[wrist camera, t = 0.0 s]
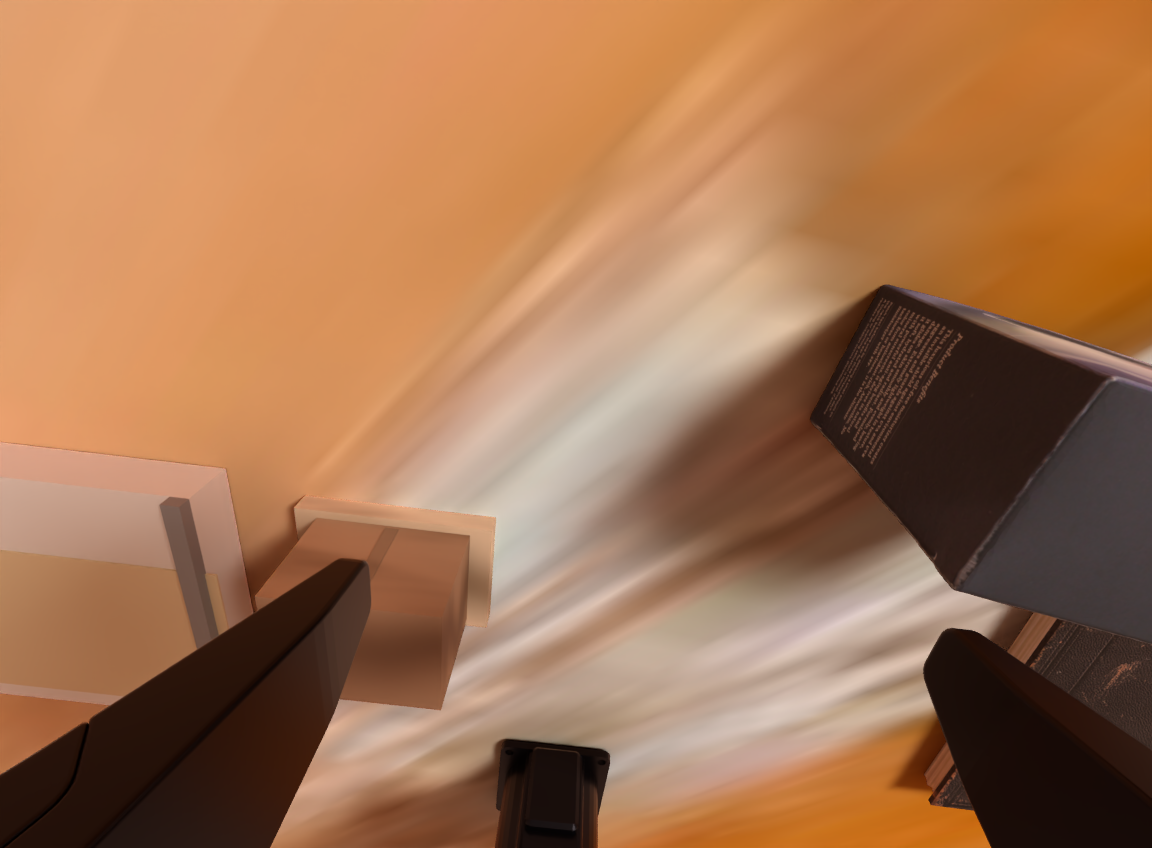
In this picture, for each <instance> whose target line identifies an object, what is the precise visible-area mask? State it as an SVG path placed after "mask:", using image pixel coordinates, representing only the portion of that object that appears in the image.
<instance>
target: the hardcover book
mask: <svg viewBox="0 0 1152 848" xmlns="http://www.w3.org/2000/svg"><path fill="white" fill-rule="evenodd" d="M1007 652H1008V653H1009V654H1011V655H1012V656H1014V657H1015V658H1017V659H1018V660H1020V661H1021V662H1023V663H1024V664H1026V665H1027V666H1029V667H1030V668H1032V669H1033V670H1035V671H1036V672H1038V673H1039V674H1040V675H1042V676H1043V677H1045V678H1046V679H1048V680H1049V681H1051V682H1052V683H1054V684H1055V685H1057V686H1058V687H1060V688H1061V689H1063V690H1064V691H1066V692H1067V693H1069V694H1070V695H1072V696H1073V697H1074V698H1076V699H1077V700H1079V701H1080V702H1082V703H1083V704H1085V705H1086V706H1088V707H1089V708H1091V709H1092V710H1094V711H1095V712H1097V713H1098V714H1100V715H1101V716H1103V717H1104V718H1106V719H1107V720H1109V721H1110V722H1111V723H1113V724H1114V725H1116V726H1117V727H1119V728H1120V729H1122V730H1123V731H1125V732H1126V733H1128V734H1129V735H1131V736H1132V737H1134V738H1135V739H1137V740H1138V741H1140V742H1141V743H1143V744H1144V745H1145V746H1147V747H1148V748H1150V749H1151V750H1152V644H1148V643H1144V642H1141V641H1137V640H1134V639H1130V638H1127V637H1123V636H1119V635H1115V634H1111V633H1108V632H1105V631H1101V630H1097V629H1093V628H1090V627H1086V626H1082V625H1079V624H1075V623H1072V622H1068V621H1064V620H1060V619H1057V618H1053V617H1050V616H1047V615H1043V614H1039V613H1036V612H1034V613H1033V614H1032V616H1031V617H1030V619H1029V620H1028V622H1027V623H1026V625H1025V626H1024V628H1023V629H1022V631H1021V632H1020V634H1019V635H1018V637H1017V638H1016V640H1015V641H1014V643H1013V644H1012V645H1011V647H1010V648H1009V650H1008V651H1007ZM924 775H925V776H926V780H927V785H928V786H930V787H932V788H933V794H932V795H931V797H930V798H929V799H928V800H929V802H930V804H931V805H935V806H943V807H951V808H958V809H966V810H974V809H973V807H972V805H971V803H970V801H969V798H968V796H967V794H966V791H965V789H964V787H963V784H962V782H961V780H960V777H959V774H958V772H957V769H956V767H955V764H954V761H953V758H952V756H951V753H950V750H949V747H948V744H947V742H946V743H945V744H944V746H943V747H942V749H941V750H940V752H939V753H938V755H937V756H936V757H935V759H934V760H933V762H932V763H931V765H930V766H929V768H928V769H927V771H926V772H925V774H924Z"/></svg>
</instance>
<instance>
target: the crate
mask: <svg viewBox="0 0 1152 848" xmlns="http://www.w3.org/2000/svg"><path fill="white" fill-rule="evenodd" d="M294 513H295V521H296V528H297V536H298V542H297V543H296V545H295V546H294V547H293V548H292V550H291V551H290V552H289V553H288V555H287V556H286V557H285V559H284V560H283V561H282V562H281V564H280V565H279V566H278V567H277V569H276V570H275V571H274V572H273V574H272V575H271V576H270V578H269V579H268V580H267V581H266V583H265V584H264V585H263V586H262V588H261V589H260V590H259V591H258V593H257V594H256V595H255V601H256V607H257V610H259V609H260V608H262V607H264V606H265V605H267V604H268V603H270V602H271V601H273V600H274V599H276V598H278V597H279V596H281V595H282V594H284V593H285V592H287V591H288V590H290V589H292V588H293V587H295V586H296V585H298V584H299V583H301V582H302V581H304V580H306V579H307V578H309V577H310V576H312V575H313V574H315V573H316V572H318V571H320V570H321V569H323V568H324V567H326V566H327V565H329V564H330V563H332V562H333V561H335V560H337V559H339V558H352V559H361V560H365V561H366V562H367V563H368V565H369V569H370V585H371V609H370V613H369V617H368V620H367V623H366V625H365V628H364V631H363V634H362V637H361V640H360V642H359V645H358V648H357V651H356V654H355V656H354V659H353V662H352V665H351V668H350V670H349V673H348V676H347V679H346V682H345V685H344V687H343V690H342V693H341V696H340V698H339V699H344V700H353V701H362V702H371V703H380V704H389V705H399V706H408V707H417V708H426V709H435V710H441V708H442V704H443V701H444V697H445V694H446V690H447V687H448V683H449V680H450V676H451V673H452V669H453V666H454V662H455V659H456V655H457V652H458V648H459V645H460V641H461V638H462V634H463V631H464V627H465V625H468V626H476V627H485V628H486V627H487V622H488V618H489V614H490V604H491V588H492V573H493V557H494V541H495V526H496V518H495V517H487V516H478V515H470V514H461V513H453V512H444V511H436V510H427V509H419V508H410V507H402V506H393V505H385V504H376V503H368V502H359V501H351V500H342V499H334V498H325V497H317V496H308V495H305V496H304V497H303V498H302V499H301V500H300V501H299V503H298V504H297V505H296V506H295V507H294Z"/></svg>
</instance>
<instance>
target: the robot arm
mask: <svg viewBox="0 0 1152 848" xmlns="http://www.w3.org/2000/svg"><path fill="white" fill-rule="evenodd" d="M370 609H371V585H370V569H369V565H368V563H367V562H366V561H365V560H361V559H352V558H339V559H337V560H335V561H333V562H332V563H330V564H329V565H327V566H326V567H324V568H323V569H321V570H320V571H318V572H316V573H315V574H313V575H312V576H310V577H309V578H307V579H306V580H304V581H302V582H301V583H299V584H298V585H296V586H295V587H293V588H292V589H290V590H288V591H287V592H285V593H284V594H282V595H281V596H279V597H278V598H276V599H274V600H273V601H271V602H270V603H268V604H267V605H265V606H264V607H262V608H260V609H259V610H257V611H256V612H254V613H253V614H251V615H250V616H248V617H246V618H245V619H243V620H242V621H240V622H239V623H237V624H236V625H234V626H233V627H231V628H229V629H228V630H226V631H225V632H223V633H222V634H220V635H219V636H217V637H215V638H214V639H212V640H211V641H209V642H208V643H206V644H205V645H203V646H201V647H200V648H198V649H197V650H195V651H194V652H192V653H191V654H189V655H187V656H186V657H184V658H183V659H181V660H180V661H178V662H177V663H175V664H173V665H172V666H170V667H169V668H167V669H166V670H164V671H163V672H161V673H160V674H158V675H156V676H155V677H153V678H152V679H150V680H149V681H147V682H146V683H144V684H142V685H141V686H139V687H138V688H136V689H135V690H133V691H132V692H130V693H128V694H127V695H125V696H124V697H122V698H121V699H119V700H118V701H116V702H114V703H113V704H111V705H110V706H108V707H107V708H105V709H104V710H102V711H100V712H99V713H97V714H96V715H94V716H93V717H92V718H91V719H90V721H89V724H88V723H82V724H80V725H78V726H77V727H75V728H74V729H72V730H71V731H69V732H67V733H66V734H64V735H63V736H61V737H60V738H58V739H57V740H55V741H53V742H52V743H50V744H49V745H47V746H46V747H44V748H42V749H41V750H39V751H38V752H36V753H34V754H33V755H31V756H30V757H28V758H26V759H25V760H23V761H22V762H20V763H18V764H17V765H15V766H14V767H12V768H10V769H9V770H7V771H6V772H4V773H2V774H1V775H0V848H270V847H271V845H272V842H273V840H274V838H275V836H276V834H277V832H278V830H279V828H280V826H281V824H282V822H283V819H284V817H285V815H286V813H287V811H288V809H289V807H290V805H291V803H292V801H293V799H294V797H295V794H296V792H297V790H298V788H299V786H300V784H301V782H302V780H303V778H304V776H305V774H306V771H307V769H308V767H309V765H310V763H311V761H312V759H313V757H314V755H315V753H316V751H317V749H318V746H319V744H320V742H321V740H322V738H323V736H324V734H325V732H326V730H327V728H328V725H329V723H330V721H331V719H332V716H333V714H334V712H335V709H336V706H337V704H338V701H339V698H340V696H341V693H342V690H343V687H344V685H345V682H346V679H347V676H348V673H349V670H350V668H351V665H352V662H353V659H354V656H355V654H356V651H357V648H358V645H359V642H360V640H361V637H362V634H363V631H364V628H365V625H366V623H367V620H368V617H369V613H370ZM923 674H924V680H925V683H926V686H927V689H928V692H929V694H930V697H931V700H932V703H933V705H934V708H935V711H936V714H937V717H938V719H939V722H940V725H941V728H942V731H943V733H944V736H945V739H946V742H947V744H948V747H949V750H950V753H951V756H952V758H953V761H954V764H955V767H956V769H957V772H958V774H959V777H960V780H961V782H962V784H963V787H964V789H965V791H966V794H967V796H968V798H969V801H970V803H971V805H972V807H973V809H974V811H975V814H976V816H977V818H978V820H979V822H980V824H981V827H982V829H983V831H984V833H985V835H986V837H987V840H988V842H989V844H990V846H991V848H1152V750H1151V749H1150V748H1148V747H1147V746H1145V745H1144V744H1143V743H1141V742H1140V741H1138V740H1137V739H1135V738H1134V737H1132V736H1131V735H1129V734H1128V733H1126V732H1125V731H1123V730H1122V729H1120V728H1119V727H1117V726H1116V725H1114V724H1113V723H1111V722H1110V721H1109V720H1107V719H1106V718H1104V717H1103V716H1101V715H1100V714H1098V713H1097V712H1095V711H1094V710H1092V709H1091V708H1089V707H1088V706H1086V705H1085V704H1083V703H1082V702H1080V701H1079V700H1077V699H1076V698H1074V697H1073V696H1072V695H1070V694H1069V693H1067V692H1066V691H1064V690H1063V689H1061V688H1060V687H1058V686H1057V685H1055V684H1054V683H1052V682H1051V681H1049V680H1048V679H1046V678H1045V677H1043V676H1042V675H1040V674H1039V673H1038V672H1036V671H1035V670H1033V669H1032V668H1030V667H1029V666H1027V665H1026V664H1024V663H1023V662H1021V661H1020V660H1018V659H1017V658H1015V657H1014V656H1012V655H1011V654H1009V653H1008V652H1006V651H1005V650H1004V649H1002V648H1001V647H999V646H998V645H996V644H995V643H993V642H992V641H990V640H989V639H987V638H986V637H984V636H983V635H981V634H980V633H978V632H975V631H972V630H964V629H956V628H949V629H946V630H945V631H943V632H942V633H941V635H940V636H939V638H938V640H937V642H936V644H935V645H934V647H933V649H932V651H931V652H930V654H929V656H928V658H927V660H926V661H925V664H924V668H923ZM609 766H610V754H609V753H608V752H606V751H602V750H593V749H584V748H575V747H566V746H556V745H547V744H538V743H529V742H520V741H505V742H503V744H502V748H501V757H500V768H499V780H498V791H497V803H496V808H497V809H498V810H499V811H500V817H499V824H498V831H497V837H496V844H495V848H598V814H599V809H600V805H601V801H602V796H603V792H604V788H605V783H606V779H607V774H608V770H609Z"/></svg>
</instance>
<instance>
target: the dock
mask: <svg viewBox="0 0 1152 848" xmlns="http://www.w3.org/2000/svg"><path fill="white" fill-rule="evenodd" d="M251 614H253V609H252V604H251V598H250V593H249V588H248V583H247V577H246V572H245V567H244V562H243V556H242V551H241V546H240V541H239V535H238V530H237V525H236V520H235V514H234V509H233V504H232V499H231V494H230V488H229V483H228V478H227V473H226V469H225V468H217V467H208V466H200V465H191V464H183V463H174V462H165V461H157V460H148V459H140V458H131V457H123V456H114V455H106V454H97V453H89V452H80V451H72V450H63V449H54V448H46V447H37V446H29V445H20V444H12V443H3V442H0V693H1V694H10V695H20V696H29V697H38V698H47V699H56V700H65V701H75V702H84V703H93V704H102V705H111V704H113V703H114V702H116V701H118V700H119V699H121V698H122V697H124V696H125V695H127V694H128V693H130V692H132V691H133V690H135V689H136V688H138V687H139V686H141V685H142V684H144V683H146V682H147V681H149V680H150V679H152V678H153V677H155V676H156V675H158V674H160V673H161V672H163V671H164V670H166V669H167V668H169V667H170V666H172V665H173V664H175V663H177V662H178V661H180V660H181V659H183V658H184V657H186V656H187V655H189V654H191V653H192V652H194V651H195V650H197V649H198V648H200V647H201V646H203V645H205V644H206V643H208V642H209V641H211V640H212V639H214V638H215V637H217V636H219V635H220V634H222V633H223V632H225V631H226V630H228V629H229V628H231V627H233V626H234V625H236V624H237V623H239V622H240V621H242V620H243V619H245V618H246V617H248V616H250V615H251Z"/></svg>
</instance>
